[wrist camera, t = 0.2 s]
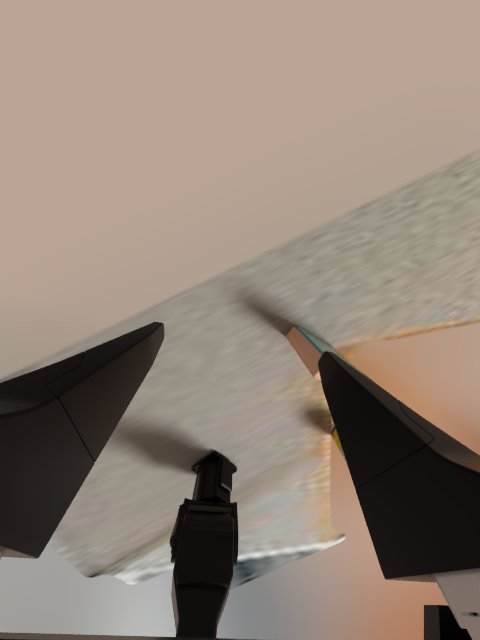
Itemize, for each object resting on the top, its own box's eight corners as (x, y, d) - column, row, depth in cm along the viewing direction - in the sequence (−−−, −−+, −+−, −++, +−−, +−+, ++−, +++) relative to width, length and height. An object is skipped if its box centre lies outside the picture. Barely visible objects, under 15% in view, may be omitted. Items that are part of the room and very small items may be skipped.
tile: (326, 360, 27) (374, 410, 18) (285, 336, 26) (313, 377, 17) (336, 349, 27) (390, 394, 17) (294, 324, 26) (329, 358, 16)
